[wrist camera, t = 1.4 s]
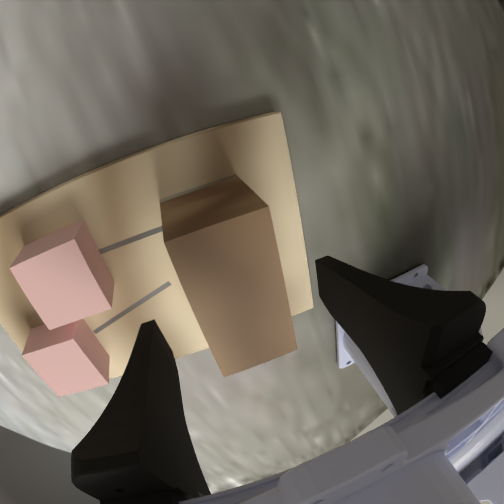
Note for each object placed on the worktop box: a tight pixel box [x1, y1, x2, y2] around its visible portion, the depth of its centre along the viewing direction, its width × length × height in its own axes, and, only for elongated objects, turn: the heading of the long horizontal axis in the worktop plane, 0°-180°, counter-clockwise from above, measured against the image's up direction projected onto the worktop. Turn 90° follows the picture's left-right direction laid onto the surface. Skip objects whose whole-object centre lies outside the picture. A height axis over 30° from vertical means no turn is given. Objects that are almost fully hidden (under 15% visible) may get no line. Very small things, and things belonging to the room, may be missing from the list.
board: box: [0, 112, 313, 379], centre depth 17 cm, size 20×13×1 cm, turn 102°
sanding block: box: [159, 174, 297, 377], centre depth 15 cm, size 4×8×5 cm, turn 12°
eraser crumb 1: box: [10, 219, 115, 330], centre depth 14 cm, size 4×4×2 cm
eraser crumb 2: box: [22, 319, 110, 397], centre depth 16 cm, size 4×4×2 cm
